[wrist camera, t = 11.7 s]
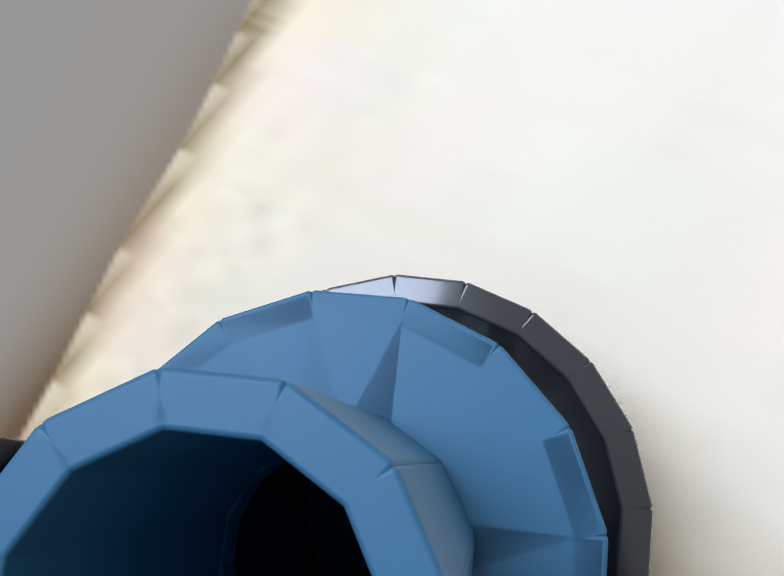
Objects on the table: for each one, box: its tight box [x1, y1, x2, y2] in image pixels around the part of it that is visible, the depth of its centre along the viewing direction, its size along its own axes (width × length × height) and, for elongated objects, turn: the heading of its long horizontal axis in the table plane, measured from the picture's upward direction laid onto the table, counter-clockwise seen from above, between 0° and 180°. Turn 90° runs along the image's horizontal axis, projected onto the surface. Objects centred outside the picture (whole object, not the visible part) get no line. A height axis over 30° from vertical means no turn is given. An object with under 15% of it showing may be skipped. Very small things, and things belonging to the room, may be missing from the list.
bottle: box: [0, 291, 608, 576], centre depth 11 cm, size 6×6×14 cm
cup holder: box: [323, 275, 653, 576], centre depth 16 cm, size 9×9×4 cm
